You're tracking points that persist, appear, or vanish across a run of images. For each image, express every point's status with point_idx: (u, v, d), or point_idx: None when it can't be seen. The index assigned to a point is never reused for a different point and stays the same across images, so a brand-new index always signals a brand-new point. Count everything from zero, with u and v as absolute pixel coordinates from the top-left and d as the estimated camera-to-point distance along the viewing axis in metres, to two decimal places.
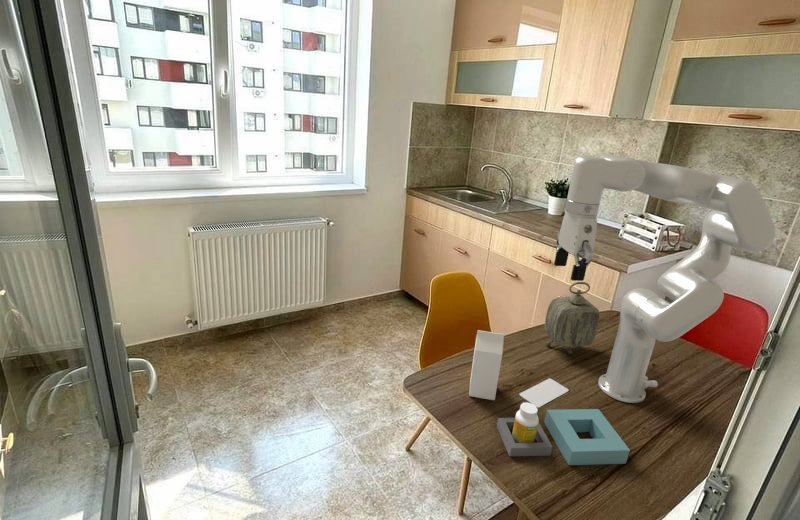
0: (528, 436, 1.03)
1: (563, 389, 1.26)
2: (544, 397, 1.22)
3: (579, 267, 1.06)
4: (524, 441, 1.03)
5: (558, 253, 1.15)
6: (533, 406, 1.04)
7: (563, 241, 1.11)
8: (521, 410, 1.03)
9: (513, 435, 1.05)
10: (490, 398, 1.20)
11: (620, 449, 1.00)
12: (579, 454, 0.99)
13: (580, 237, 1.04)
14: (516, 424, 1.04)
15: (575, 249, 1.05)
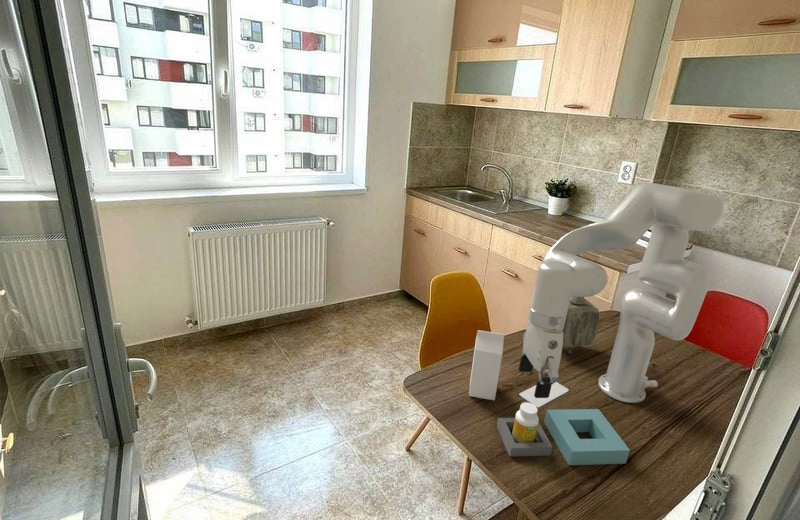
0: (528, 436, 1.03)
1: (563, 389, 1.26)
2: None
3: (543, 385, 0.94)
4: (524, 441, 1.03)
5: (523, 359, 1.03)
6: (533, 406, 1.04)
7: (527, 350, 0.99)
8: (521, 410, 1.03)
9: (513, 435, 1.05)
10: (490, 398, 1.20)
11: (620, 449, 1.00)
12: (579, 454, 0.99)
13: (544, 353, 0.92)
14: (516, 424, 1.04)
15: (539, 365, 0.93)
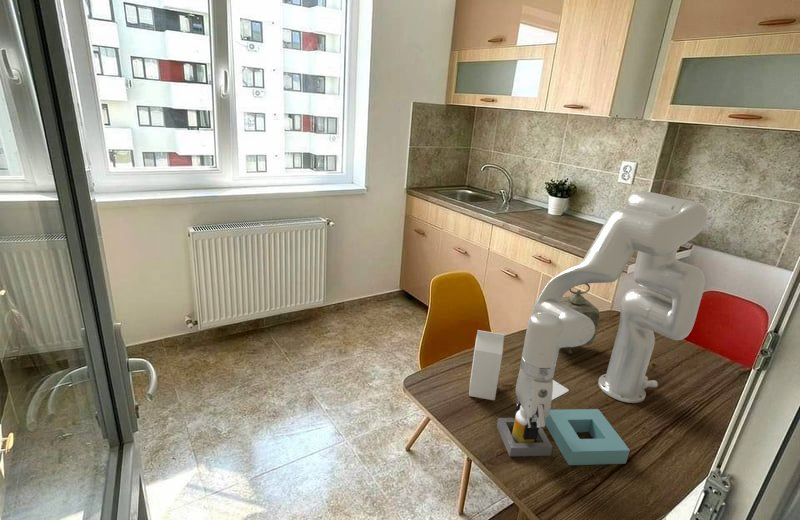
0: None
1: (563, 389, 1.26)
2: None
3: (531, 428, 1.00)
4: (524, 441, 1.03)
5: (518, 409, 1.06)
6: None
7: (519, 395, 1.03)
8: (521, 410, 1.03)
9: (513, 435, 1.05)
10: (490, 398, 1.20)
11: (620, 449, 1.00)
12: (579, 454, 0.99)
13: (535, 401, 0.96)
14: (516, 424, 1.04)
15: (530, 412, 0.98)
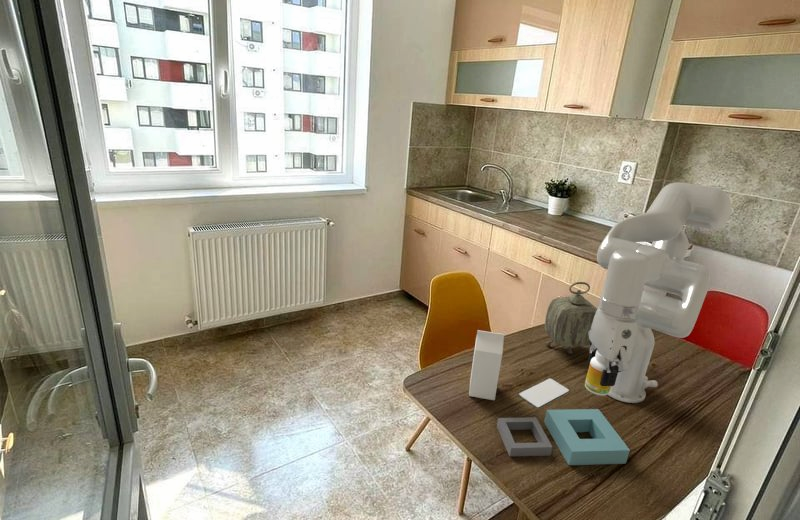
0: None
1: (563, 389, 1.26)
2: (544, 397, 1.22)
3: (610, 373, 0.95)
4: (600, 389, 0.99)
5: (591, 356, 1.02)
6: None
7: (596, 340, 0.98)
8: (598, 355, 0.98)
9: (587, 383, 1.01)
10: (490, 398, 1.20)
11: (620, 449, 1.00)
12: (579, 454, 0.99)
13: (617, 342, 0.92)
14: (592, 370, 0.99)
15: (611, 355, 0.93)
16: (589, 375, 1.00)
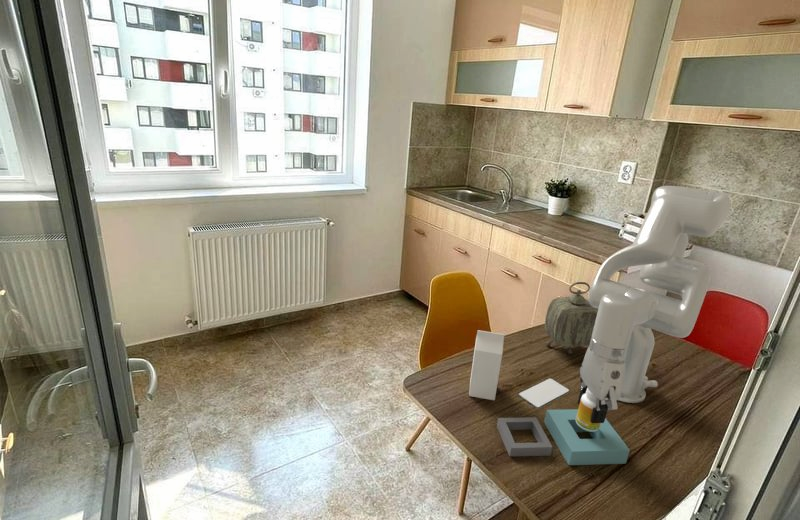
0: None
1: (563, 389, 1.26)
2: (544, 397, 1.22)
3: (600, 411, 0.99)
4: (591, 425, 1.02)
5: (582, 393, 1.05)
6: None
7: (586, 378, 1.02)
8: (588, 393, 1.01)
9: (578, 419, 1.04)
10: (490, 398, 1.20)
11: (620, 449, 1.00)
12: (579, 454, 0.99)
13: (606, 383, 0.95)
14: (583, 407, 1.02)
15: (601, 394, 0.96)
16: (580, 411, 1.03)
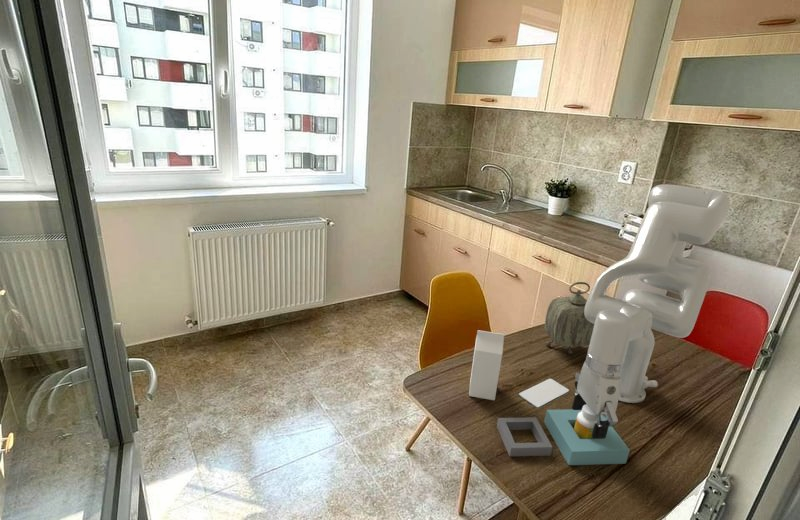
0: (591, 437, 1.03)
1: (563, 389, 1.26)
2: (544, 397, 1.22)
3: (601, 427, 0.98)
4: None
5: (576, 398, 1.08)
6: None
7: (583, 392, 1.03)
8: (584, 412, 1.03)
9: None
10: (490, 398, 1.20)
11: (620, 449, 1.00)
12: (579, 454, 0.99)
13: (602, 398, 0.97)
14: (579, 425, 1.04)
15: (597, 409, 0.98)
16: (576, 429, 1.05)
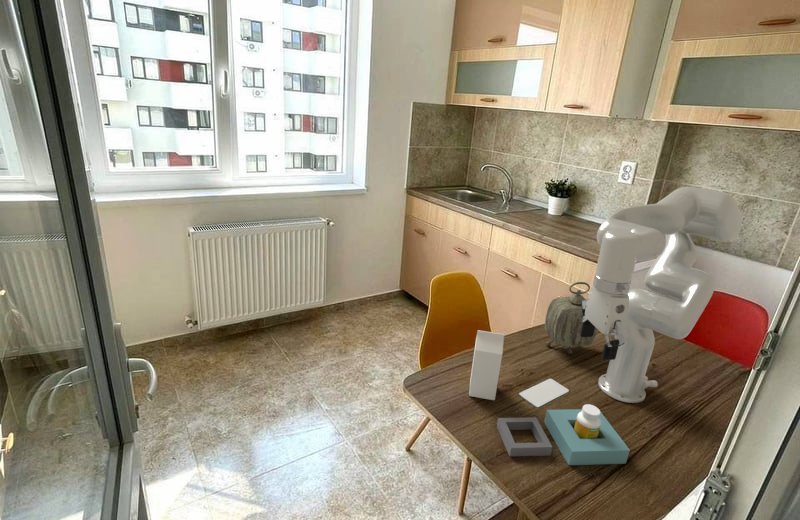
0: (591, 437, 1.03)
1: (563, 389, 1.26)
2: (544, 397, 1.22)
3: (611, 347, 0.99)
4: None
5: (585, 325, 1.08)
6: (595, 408, 1.04)
7: (591, 316, 1.04)
8: (584, 412, 1.03)
9: None
10: (490, 398, 1.20)
11: (620, 449, 1.00)
12: (579, 454, 0.99)
13: (612, 317, 0.97)
14: (579, 425, 1.04)
15: (606, 329, 0.98)
16: (576, 429, 1.05)
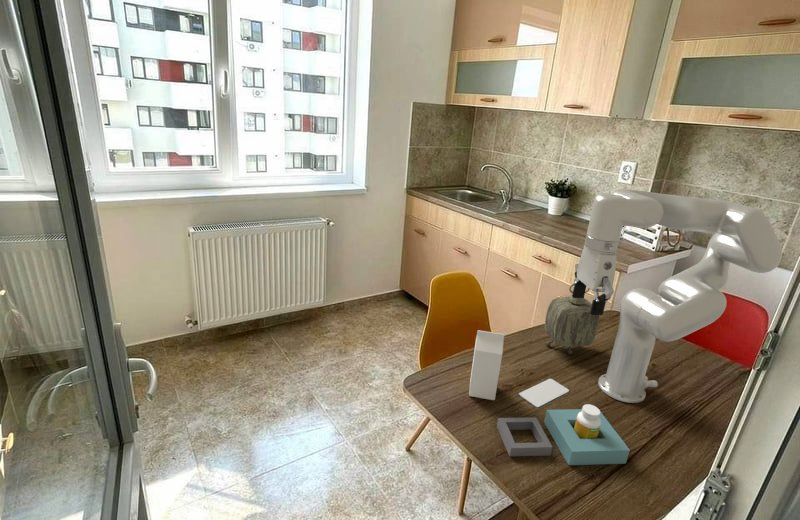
0: (591, 437, 1.03)
1: (563, 389, 1.26)
2: (544, 397, 1.22)
3: (598, 302, 1.08)
4: None
5: (576, 286, 1.17)
6: (595, 408, 1.04)
7: (582, 275, 1.12)
8: (584, 412, 1.03)
9: None
10: (490, 398, 1.20)
11: (620, 449, 1.00)
12: (579, 454, 0.99)
13: (600, 273, 1.06)
14: (579, 425, 1.04)
15: (595, 285, 1.07)
16: (576, 429, 1.05)
